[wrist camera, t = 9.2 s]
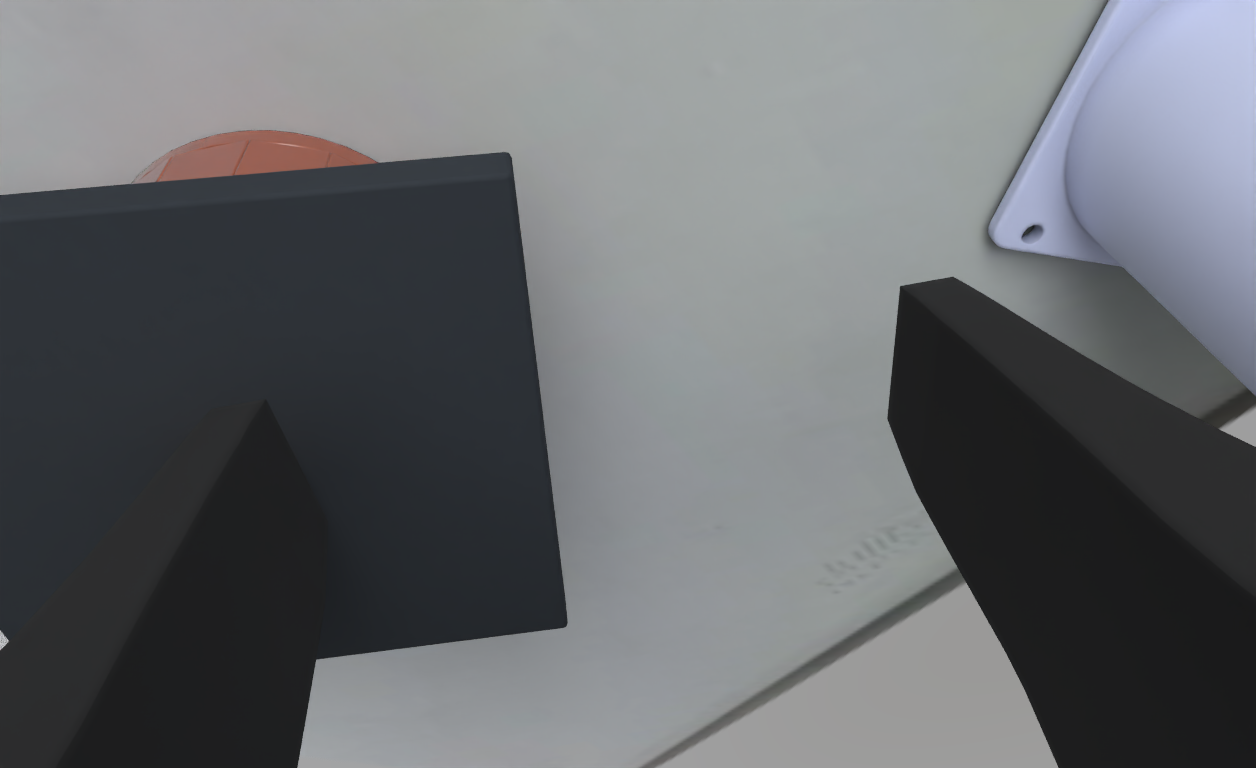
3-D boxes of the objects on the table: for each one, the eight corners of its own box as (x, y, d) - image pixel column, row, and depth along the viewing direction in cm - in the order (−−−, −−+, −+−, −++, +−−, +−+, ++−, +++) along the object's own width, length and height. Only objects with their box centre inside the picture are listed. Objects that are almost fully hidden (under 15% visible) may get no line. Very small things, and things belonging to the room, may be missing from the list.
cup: (486, 161, 19) (489, 306, 15) (447, 428, 24) (441, 595, 20) (83, 98, 17) (-40, 243, 13) (126, 401, 22) (44, 580, 18)
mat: (510, 148, 13) (520, 299, 10) (565, 599, 21) (580, 767, 17) (-277, 216, 13) (-518, 400, 10) (63, 662, 20) (-13, 851, 17)
